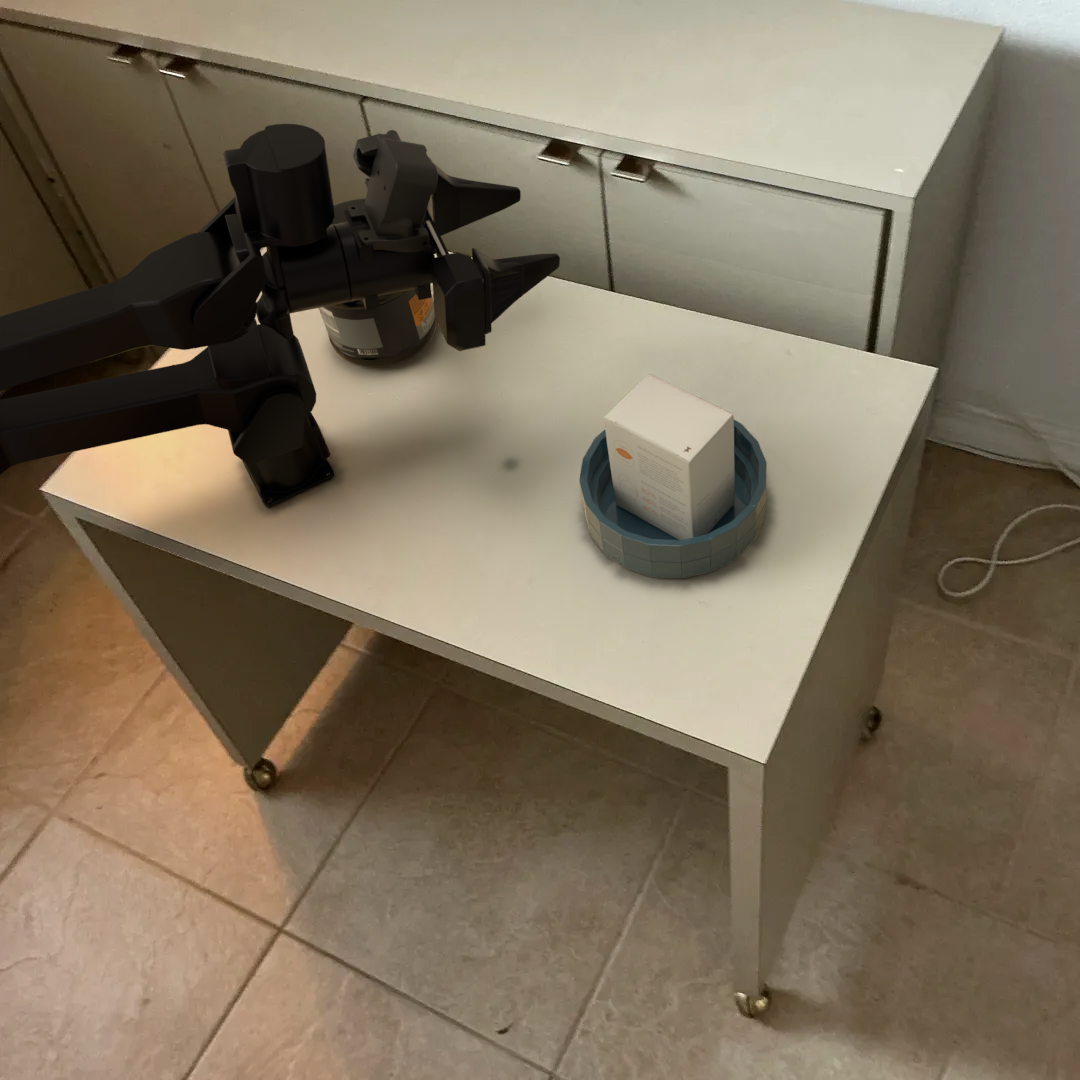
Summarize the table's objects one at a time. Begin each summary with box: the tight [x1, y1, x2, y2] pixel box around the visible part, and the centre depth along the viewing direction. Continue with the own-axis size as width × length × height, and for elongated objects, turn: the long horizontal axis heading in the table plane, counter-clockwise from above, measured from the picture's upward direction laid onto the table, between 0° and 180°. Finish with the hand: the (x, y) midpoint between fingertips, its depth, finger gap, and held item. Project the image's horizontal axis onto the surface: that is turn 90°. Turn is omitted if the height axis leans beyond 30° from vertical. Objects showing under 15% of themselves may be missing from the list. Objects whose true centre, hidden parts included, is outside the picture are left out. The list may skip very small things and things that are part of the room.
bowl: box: [579, 419, 768, 579], centre depth 88 cm, size 14×14×4 cm
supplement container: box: [318, 198, 438, 368], centre depth 102 cm, size 10×10×12 cm
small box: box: [603, 373, 735, 540], centre depth 85 cm, size 8×6×10 cm
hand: (538, 226), depth 87 cm, fingers open, 9 cm apart
